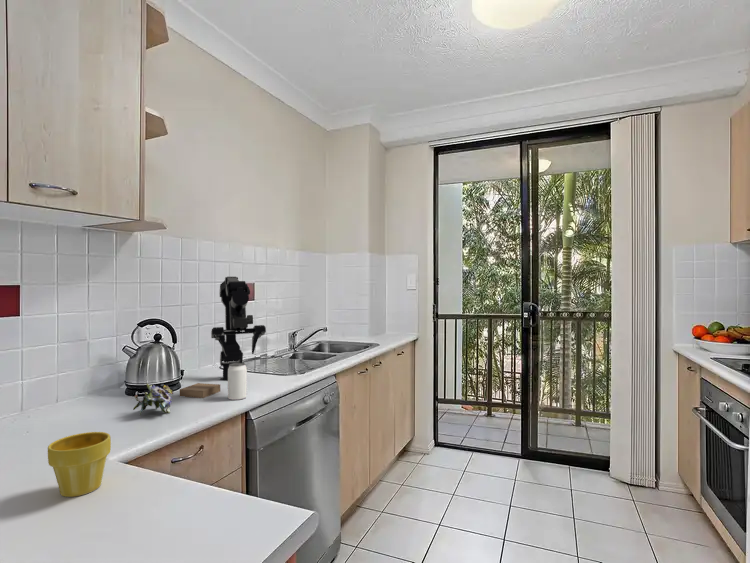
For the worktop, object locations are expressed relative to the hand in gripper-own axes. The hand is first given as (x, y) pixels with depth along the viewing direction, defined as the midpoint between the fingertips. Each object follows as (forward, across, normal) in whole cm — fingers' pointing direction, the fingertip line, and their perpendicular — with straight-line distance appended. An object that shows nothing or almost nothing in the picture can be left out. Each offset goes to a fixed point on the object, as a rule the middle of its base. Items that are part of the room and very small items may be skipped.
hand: (239, 354), depth 156 cm
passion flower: (+18, -27, -4) cm, 33 cm away
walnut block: (+11, -13, +15) cm, 23 cm away
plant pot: (+34, -38, -52) cm, 72 cm away
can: (+15, -1, +3) cm, 15 cm away
